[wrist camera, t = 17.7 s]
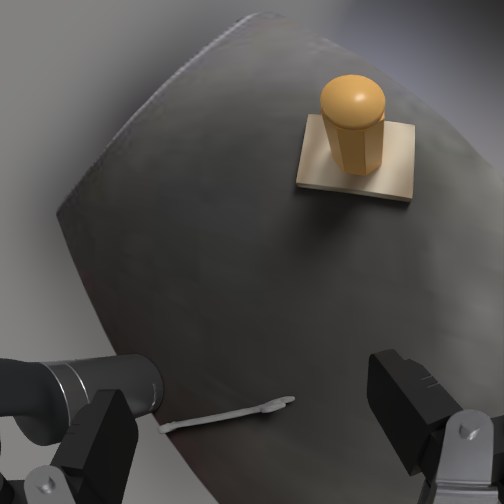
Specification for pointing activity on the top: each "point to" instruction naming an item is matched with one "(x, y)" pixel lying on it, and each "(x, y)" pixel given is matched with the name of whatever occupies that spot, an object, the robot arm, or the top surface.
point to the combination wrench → (228, 414)
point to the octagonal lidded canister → (354, 123)
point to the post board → (374, 184)
